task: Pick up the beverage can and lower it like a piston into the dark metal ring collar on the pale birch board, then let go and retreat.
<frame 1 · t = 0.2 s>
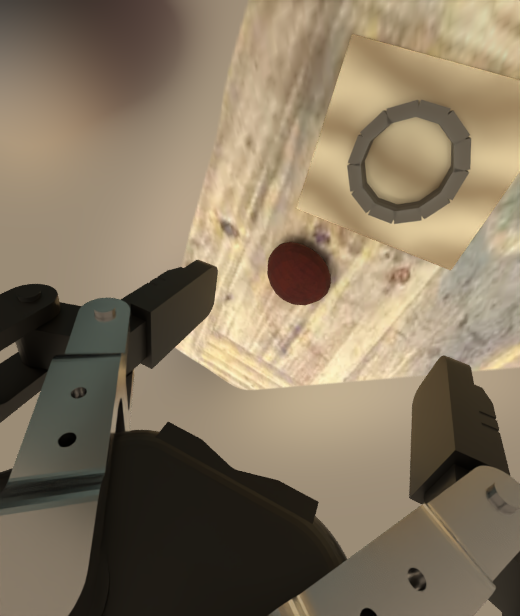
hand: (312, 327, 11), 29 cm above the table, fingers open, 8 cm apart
ring board: (406, 161, 32), on the table
potato: (304, 265, 42), on the table
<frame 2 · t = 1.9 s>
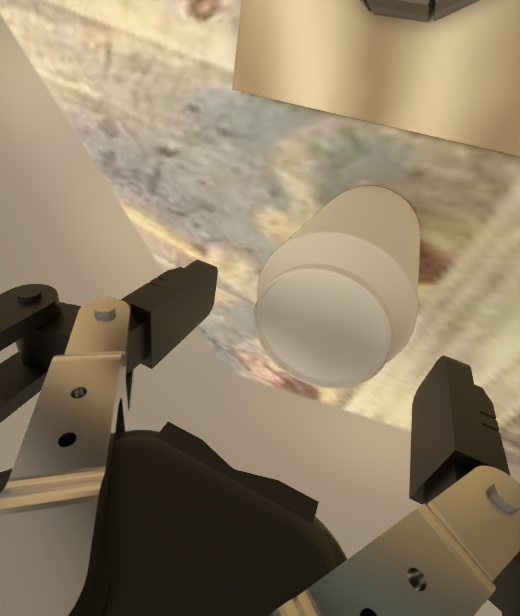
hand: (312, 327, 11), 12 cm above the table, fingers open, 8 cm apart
beverage can: (367, 233, 21), on the table
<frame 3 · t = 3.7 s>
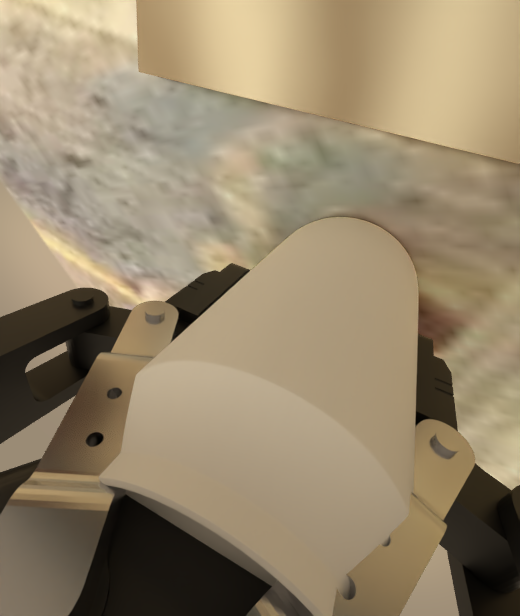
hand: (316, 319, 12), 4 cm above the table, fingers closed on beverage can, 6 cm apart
beverage can: (343, 278, 15), on the table, touching gripper
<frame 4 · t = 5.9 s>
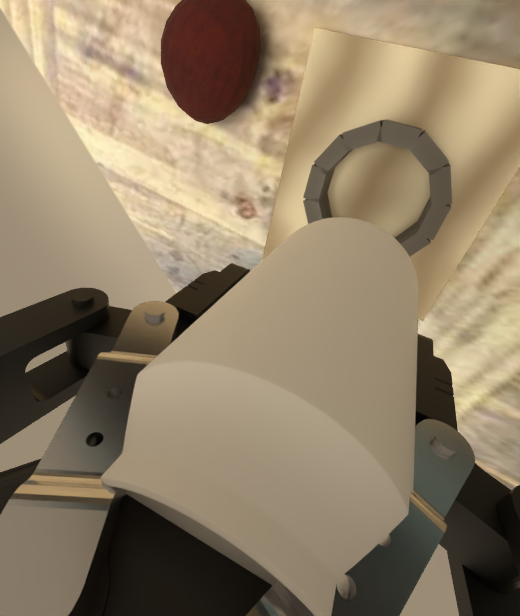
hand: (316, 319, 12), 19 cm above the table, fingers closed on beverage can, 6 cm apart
ring board: (377, 191, 27), on the table
beverage can: (343, 278, 15), point 16 cm above the table, touching gripper
potato: (228, 62, 27), on the table
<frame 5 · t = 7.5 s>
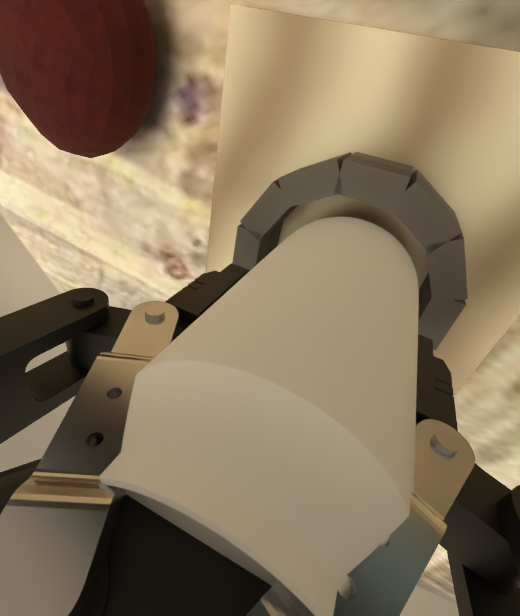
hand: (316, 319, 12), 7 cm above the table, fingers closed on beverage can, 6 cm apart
ring board: (350, 253, 18), on the table
beverage can: (343, 278, 15), point 3 cm above the table, touching gripper
potato: (124, 65, 18), on the table
when the fingers open (6 cm above the table, at t = 8.6 s): beverage can drops 1 cm, resting on ring board.
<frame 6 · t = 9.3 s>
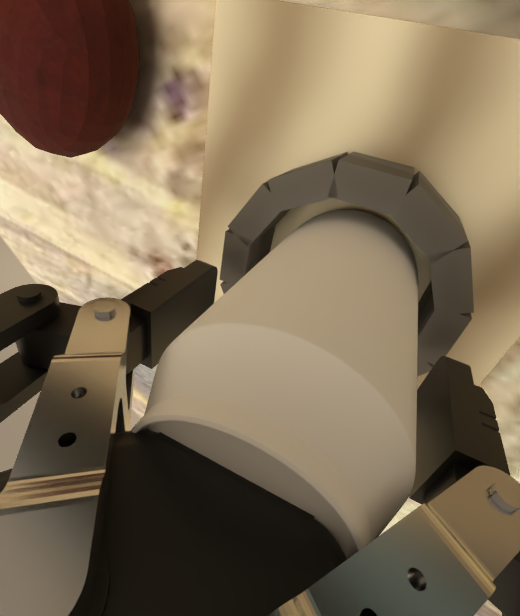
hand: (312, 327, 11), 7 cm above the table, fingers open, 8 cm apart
ring board: (347, 259, 17), on the table
beverage can: (347, 268, 16), point 1 cm above the table, touching ring board
potato: (107, 59, 17), on the table
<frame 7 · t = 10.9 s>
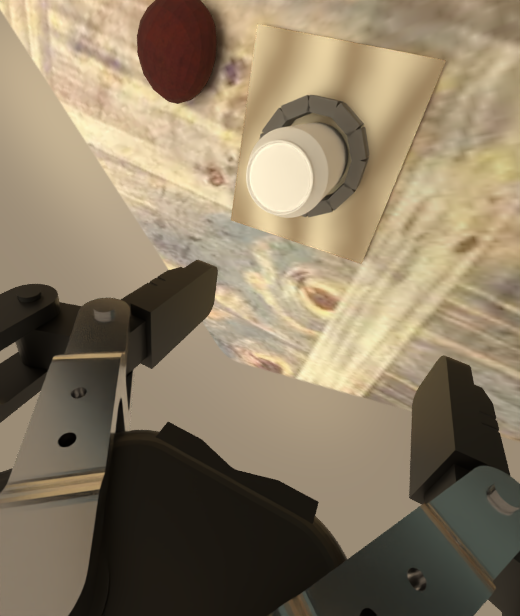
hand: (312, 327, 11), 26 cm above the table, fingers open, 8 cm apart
ring board: (318, 155, 33), on the table
beverage can: (317, 157, 32), point 1 cm above the table, touching ring board
potato: (194, 53, 33), on the table
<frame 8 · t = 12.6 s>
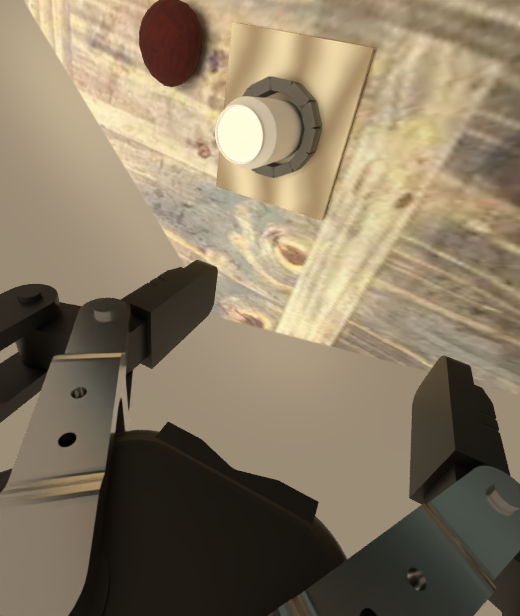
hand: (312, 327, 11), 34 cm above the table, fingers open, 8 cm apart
ring board: (284, 129, 40), on the table
beverage can: (282, 130, 39), point 1 cm above the table, touching ring board
potato: (185, 47, 40), on the table
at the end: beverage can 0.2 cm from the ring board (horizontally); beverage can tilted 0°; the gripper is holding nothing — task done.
